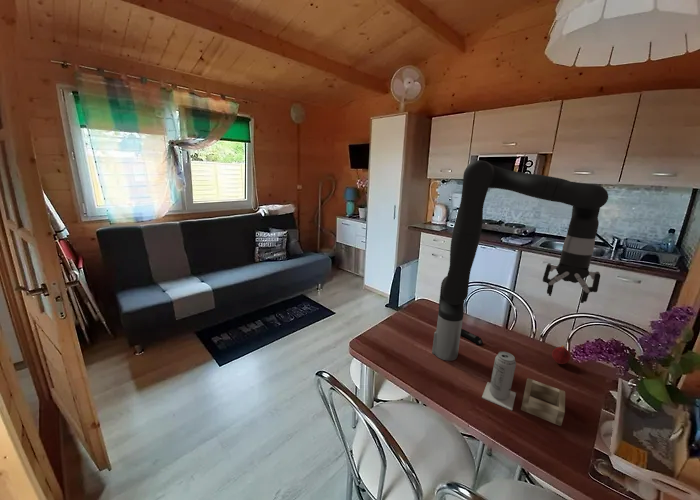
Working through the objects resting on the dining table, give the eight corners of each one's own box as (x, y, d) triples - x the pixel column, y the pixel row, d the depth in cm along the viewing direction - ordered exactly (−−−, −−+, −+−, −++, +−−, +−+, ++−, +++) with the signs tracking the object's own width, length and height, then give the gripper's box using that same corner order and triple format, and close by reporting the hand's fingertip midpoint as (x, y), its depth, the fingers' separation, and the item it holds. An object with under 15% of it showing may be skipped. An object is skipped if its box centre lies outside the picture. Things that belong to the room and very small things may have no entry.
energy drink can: (512, 401, 98) (520, 362, 94) (493, 400, 98) (501, 361, 94) (503, 388, 104) (511, 350, 99) (486, 387, 104) (493, 349, 100)
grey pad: (481, 397, 100) (481, 396, 100) (487, 382, 107) (487, 381, 107) (511, 410, 95) (512, 409, 95) (515, 393, 102) (516, 392, 102)
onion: (570, 369, 115) (575, 351, 113) (554, 367, 116) (558, 349, 114) (563, 360, 120) (568, 342, 118) (547, 358, 121) (551, 340, 119)
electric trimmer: (453, 328, 143) (453, 322, 142) (483, 343, 131) (484, 337, 130) (447, 330, 141) (448, 324, 140) (477, 346, 128) (478, 339, 128)
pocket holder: (520, 409, 95) (523, 396, 94) (524, 390, 104) (527, 377, 102) (561, 426, 90) (564, 412, 88) (561, 404, 98) (565, 391, 97)
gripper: (605, 252, 92) (592, 300, 97) (550, 244, 100) (540, 289, 104) (608, 257, 86) (593, 309, 91) (549, 249, 94) (538, 296, 99)
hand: (565, 298), depth 98 cm, fingers open, 8 cm apart
